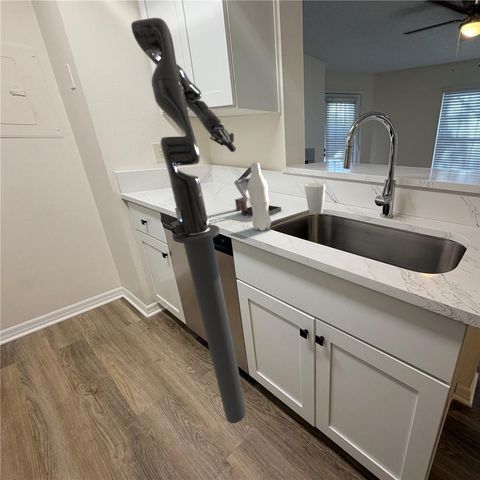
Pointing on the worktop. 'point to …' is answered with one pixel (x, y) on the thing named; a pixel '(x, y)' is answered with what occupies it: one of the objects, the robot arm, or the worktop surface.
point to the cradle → (241, 205)
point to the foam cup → (315, 197)
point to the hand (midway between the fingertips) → (233, 150)
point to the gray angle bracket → (244, 185)
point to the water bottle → (259, 198)
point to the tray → (271, 210)
